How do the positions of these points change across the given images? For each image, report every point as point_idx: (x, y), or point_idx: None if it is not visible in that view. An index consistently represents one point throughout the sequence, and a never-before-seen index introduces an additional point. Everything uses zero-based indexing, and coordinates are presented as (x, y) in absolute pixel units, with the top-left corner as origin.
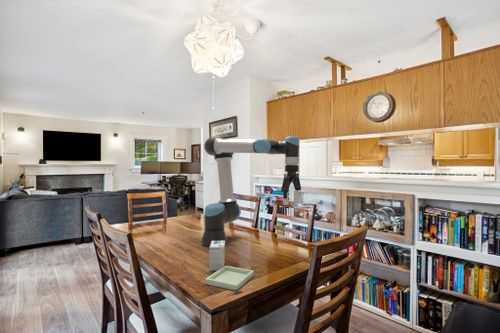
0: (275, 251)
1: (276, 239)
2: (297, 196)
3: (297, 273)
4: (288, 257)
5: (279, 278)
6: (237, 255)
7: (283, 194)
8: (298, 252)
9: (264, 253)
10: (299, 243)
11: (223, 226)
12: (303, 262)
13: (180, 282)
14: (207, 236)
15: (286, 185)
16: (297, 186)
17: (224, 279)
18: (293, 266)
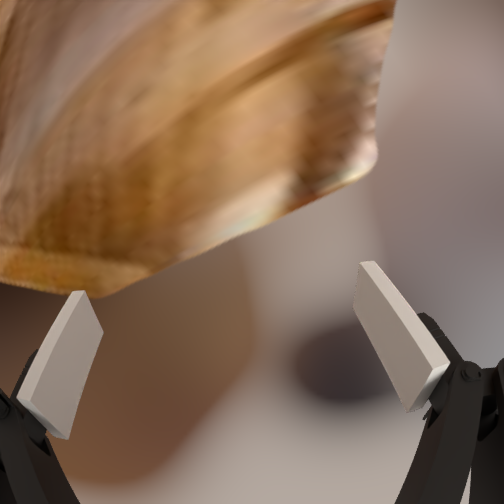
0: (162, 133)
1: (328, 40)
2: (379, 341)
3: None
4: (141, 214)
5: (27, 280)
6: (40, 74)
7: (16, 385)
8: (216, 210)
9: (113, 119)
10: (335, 153)
11: None
12: (140, 273)
13: None
14: None
15: (8, 501)
16: (408, 472)
17: None
18: (94, 268)
